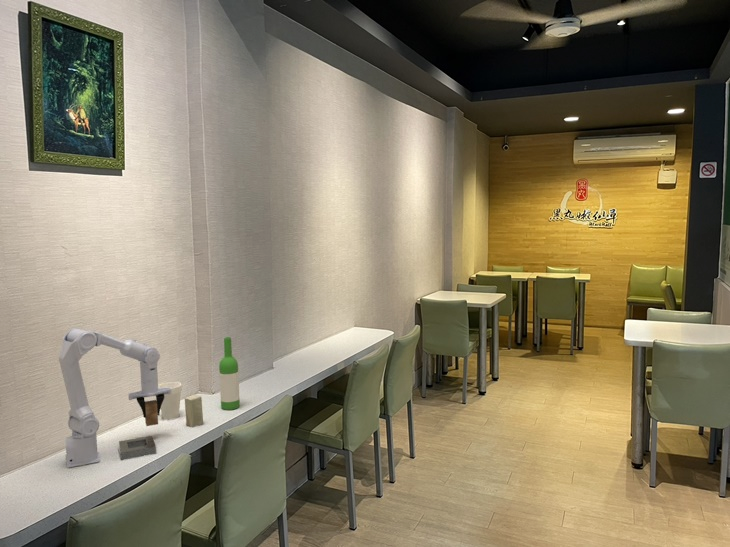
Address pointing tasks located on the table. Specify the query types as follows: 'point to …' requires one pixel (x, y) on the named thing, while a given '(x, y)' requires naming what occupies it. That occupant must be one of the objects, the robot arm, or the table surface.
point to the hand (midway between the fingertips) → (151, 415)
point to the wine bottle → (229, 378)
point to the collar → (137, 447)
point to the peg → (151, 413)
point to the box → (193, 410)
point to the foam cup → (171, 400)
